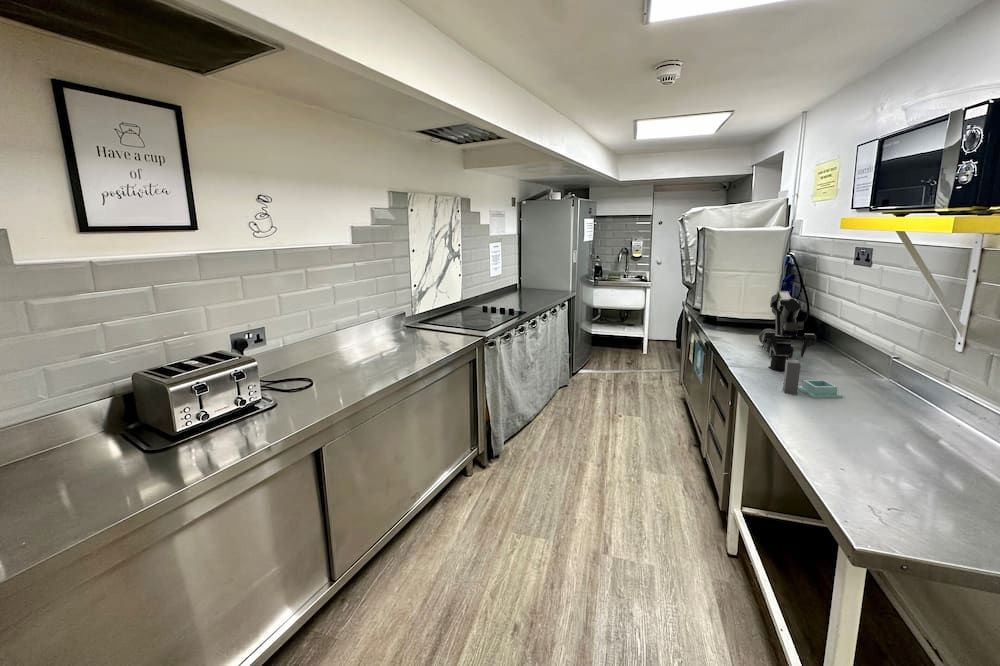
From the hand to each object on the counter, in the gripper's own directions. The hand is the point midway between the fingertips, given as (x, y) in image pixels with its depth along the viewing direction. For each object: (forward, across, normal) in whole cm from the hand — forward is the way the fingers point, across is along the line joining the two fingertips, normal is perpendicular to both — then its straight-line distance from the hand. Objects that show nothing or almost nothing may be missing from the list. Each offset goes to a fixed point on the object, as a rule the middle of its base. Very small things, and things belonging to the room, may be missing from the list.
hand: (789, 356), depth 187 cm
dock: (+13, +11, +5) cm, 18 cm away
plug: (+15, 0, +3) cm, 15 cm away
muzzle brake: (-28, 0, +51) cm, 58 cm away
